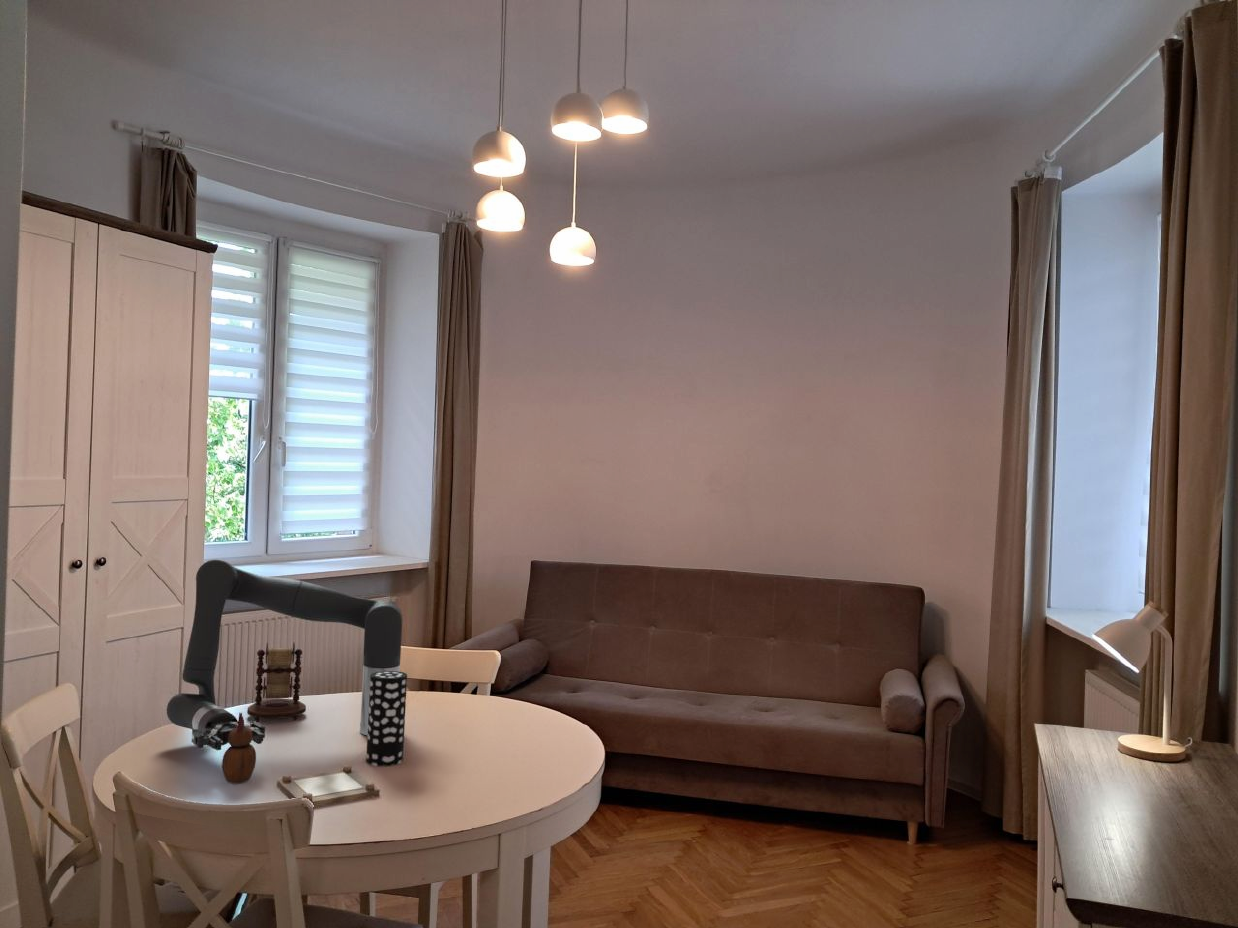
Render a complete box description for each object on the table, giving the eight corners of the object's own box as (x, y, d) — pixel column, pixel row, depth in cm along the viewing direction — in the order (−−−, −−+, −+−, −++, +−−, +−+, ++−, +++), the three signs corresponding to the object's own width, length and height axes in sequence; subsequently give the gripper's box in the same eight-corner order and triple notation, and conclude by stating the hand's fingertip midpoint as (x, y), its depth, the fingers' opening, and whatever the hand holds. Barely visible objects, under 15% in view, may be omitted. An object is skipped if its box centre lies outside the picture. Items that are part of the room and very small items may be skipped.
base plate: (350, 773, 201) (351, 763, 201) (379, 795, 188) (379, 784, 188) (277, 785, 191) (277, 775, 191) (301, 809, 178) (302, 798, 178)
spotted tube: (409, 758, 213) (414, 673, 214) (389, 768, 205) (394, 680, 206) (379, 753, 216) (383, 669, 216) (358, 762, 208) (363, 675, 208)
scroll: (304, 708, 253) (308, 637, 253) (306, 722, 239) (310, 646, 240) (248, 710, 248) (251, 637, 248) (245, 725, 234) (250, 648, 234)
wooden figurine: (240, 787, 189) (244, 715, 189) (216, 784, 190) (220, 712, 190) (259, 777, 196) (263, 707, 196) (235, 774, 197) (239, 705, 197)
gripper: (182, 712, 200) (206, 729, 188) (247, 703, 210) (274, 719, 198) (180, 746, 200) (204, 765, 188) (245, 736, 210) (272, 754, 198)
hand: (240, 742), depth 193 cm, fingers open, 8 cm apart
